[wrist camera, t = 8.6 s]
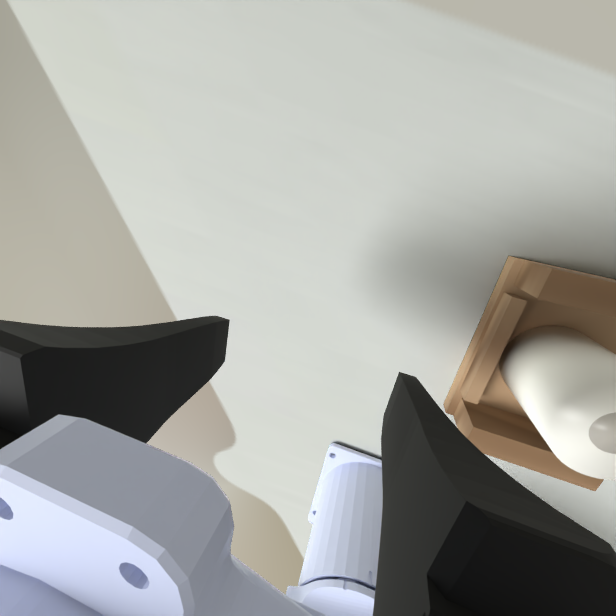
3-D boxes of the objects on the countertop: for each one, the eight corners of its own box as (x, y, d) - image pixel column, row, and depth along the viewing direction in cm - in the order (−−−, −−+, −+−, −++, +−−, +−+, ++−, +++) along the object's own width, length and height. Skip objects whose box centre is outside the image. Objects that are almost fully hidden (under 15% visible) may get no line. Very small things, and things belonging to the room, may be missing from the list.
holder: (564, 443, 20) (605, 494, 16) (443, 404, 21) (454, 443, 18) (664, 290, 16) (746, 312, 12) (508, 255, 18) (540, 266, 14)
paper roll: (574, 408, 18) (658, 497, 12) (487, 387, 19) (529, 460, 13) (614, 336, 16) (733, 401, 11) (517, 317, 17) (578, 367, 12)
